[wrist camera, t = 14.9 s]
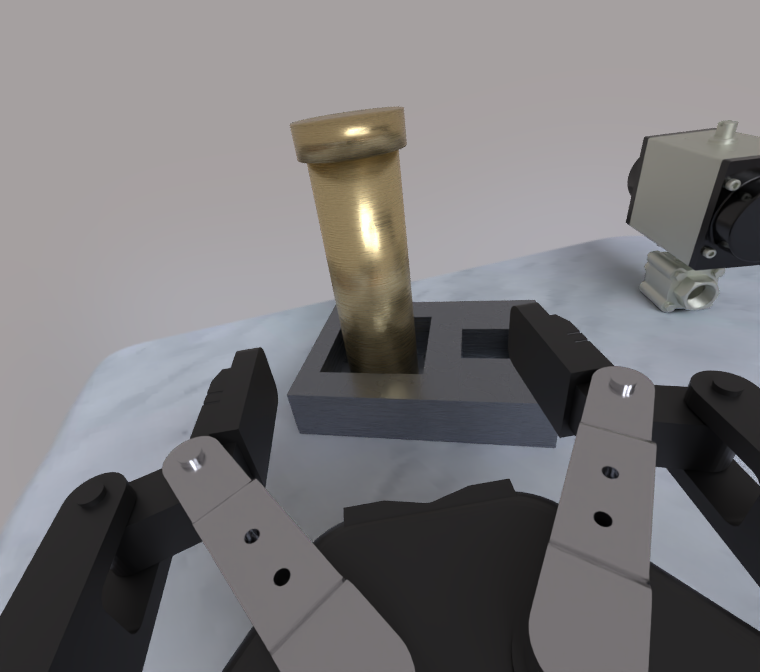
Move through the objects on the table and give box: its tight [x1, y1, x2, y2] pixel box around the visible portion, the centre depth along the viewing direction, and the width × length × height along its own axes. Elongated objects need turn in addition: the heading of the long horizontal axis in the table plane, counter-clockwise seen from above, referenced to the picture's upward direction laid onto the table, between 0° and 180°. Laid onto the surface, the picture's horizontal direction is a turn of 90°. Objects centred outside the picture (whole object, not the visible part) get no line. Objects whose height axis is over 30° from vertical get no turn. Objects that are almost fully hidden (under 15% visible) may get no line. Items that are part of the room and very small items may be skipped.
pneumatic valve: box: [626, 120, 760, 312], centre depth 27 cm, size 6×12×12 cm, turn 178°
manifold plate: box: [287, 300, 558, 448], centre depth 25 cm, size 14×10×3 cm
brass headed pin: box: [290, 107, 419, 374], centre depth 22 cm, size 5×5×15 cm
